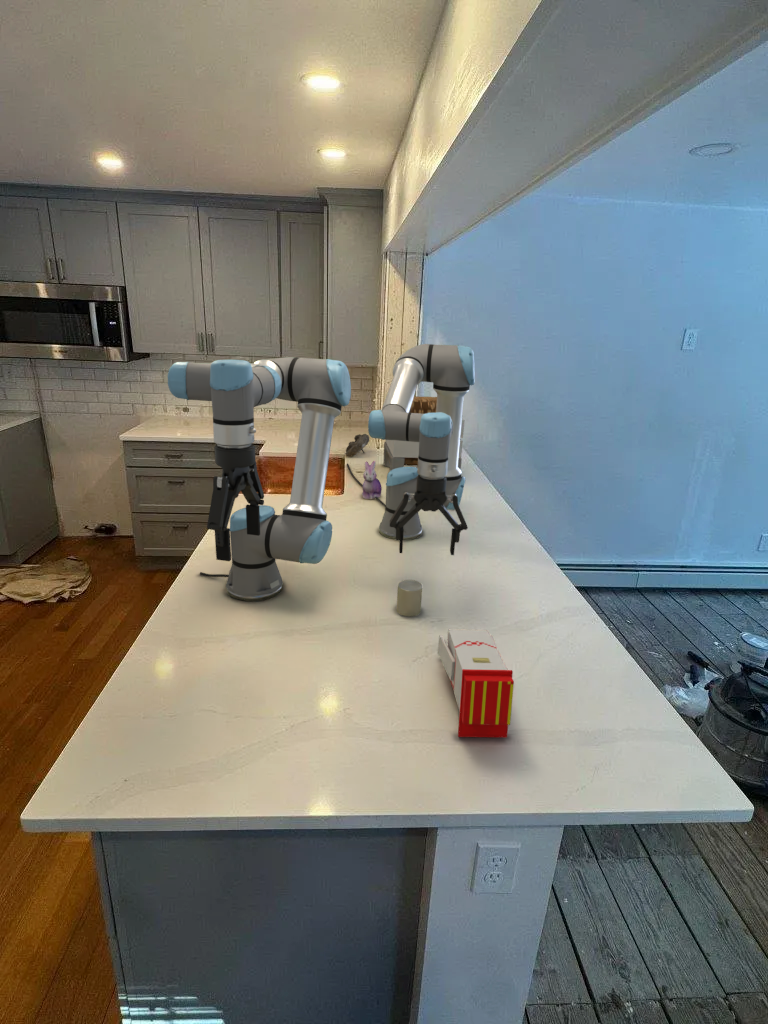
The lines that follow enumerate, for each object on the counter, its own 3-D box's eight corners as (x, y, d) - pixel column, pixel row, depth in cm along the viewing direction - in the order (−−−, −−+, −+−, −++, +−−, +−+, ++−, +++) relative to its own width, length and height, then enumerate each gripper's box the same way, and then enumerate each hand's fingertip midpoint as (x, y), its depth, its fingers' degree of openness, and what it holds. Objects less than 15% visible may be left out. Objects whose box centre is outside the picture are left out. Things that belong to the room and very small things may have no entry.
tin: (407, 619, 145) (408, 593, 143) (391, 608, 150) (393, 583, 147) (425, 612, 149) (427, 586, 147) (410, 602, 154) (411, 577, 151)
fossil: (345, 440, 316) (366, 424, 311) (356, 453, 319) (377, 438, 314) (339, 453, 297) (361, 437, 292) (350, 467, 300) (373, 452, 295)
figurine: (366, 501, 232) (367, 465, 227) (356, 493, 240) (357, 459, 235) (386, 498, 236) (388, 463, 231) (375, 491, 244) (377, 457, 239)
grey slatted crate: (382, 463, 289) (386, 382, 275) (445, 464, 293) (451, 384, 279) (390, 482, 257) (394, 392, 243) (460, 483, 261) (468, 394, 247)
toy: (488, 613, 130) (523, 677, 101) (484, 667, 133) (517, 744, 104) (435, 612, 130) (455, 676, 101) (432, 666, 133) (451, 743, 103)
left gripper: (221, 461, 96) (228, 574, 103) (278, 432, 119) (280, 527, 126) (181, 457, 97) (190, 569, 104) (244, 429, 120) (248, 523, 127)
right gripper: (382, 478, 139) (379, 556, 147) (483, 482, 139) (475, 559, 147) (382, 469, 146) (379, 544, 154) (479, 473, 146) (471, 547, 154)
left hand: (239, 546), depth 115 cm, fingers open, 13 cm apart
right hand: (426, 552), depth 150 cm, fingers open, 13 cm apart
